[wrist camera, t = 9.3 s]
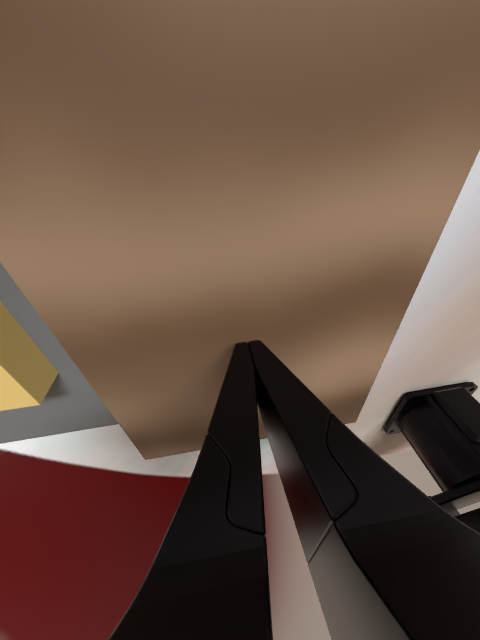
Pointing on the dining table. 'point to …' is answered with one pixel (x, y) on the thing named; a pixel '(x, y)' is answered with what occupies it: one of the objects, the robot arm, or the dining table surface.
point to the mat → (65, 392)
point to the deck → (229, 187)
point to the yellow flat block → (21, 366)
